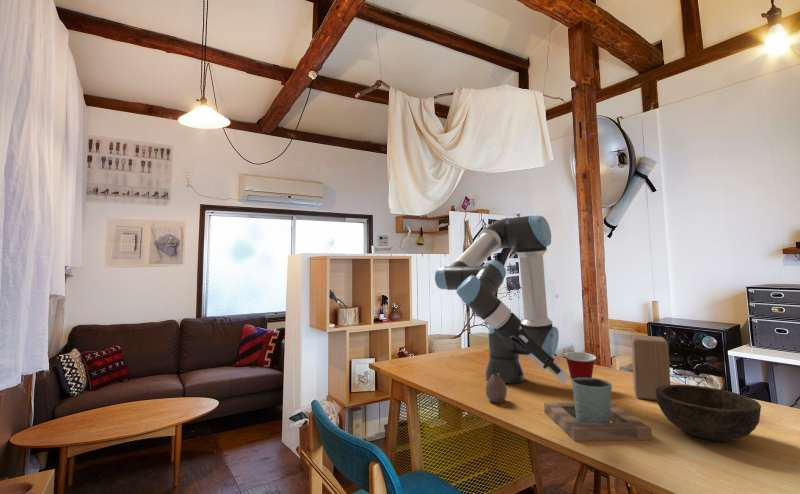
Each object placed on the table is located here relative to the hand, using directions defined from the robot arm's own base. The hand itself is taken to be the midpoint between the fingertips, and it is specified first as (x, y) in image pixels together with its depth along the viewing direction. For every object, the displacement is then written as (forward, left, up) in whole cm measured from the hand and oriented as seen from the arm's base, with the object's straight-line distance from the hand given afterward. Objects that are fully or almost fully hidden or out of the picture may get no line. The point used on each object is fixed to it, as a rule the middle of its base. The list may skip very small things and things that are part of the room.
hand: (556, 373), depth 109 cm
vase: (-21, -12, -15) cm, 29 cm away
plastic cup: (-34, +23, -15) cm, 44 cm away
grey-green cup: (0, +10, -15) cm, 18 cm away
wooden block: (-23, +42, -15) cm, 50 cm away
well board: (0, +10, -14) cm, 18 cm away
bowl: (+8, +36, -15) cm, 40 cm away
